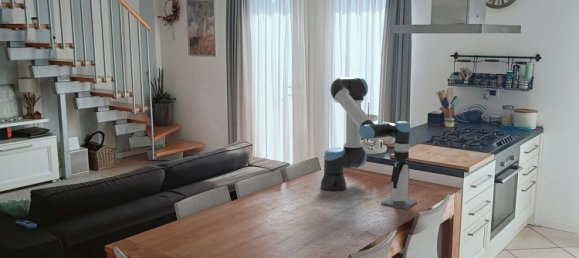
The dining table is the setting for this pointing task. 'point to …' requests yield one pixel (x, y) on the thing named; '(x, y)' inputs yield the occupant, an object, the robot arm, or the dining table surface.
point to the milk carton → (402, 185)
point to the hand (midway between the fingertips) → (399, 191)
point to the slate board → (399, 203)
